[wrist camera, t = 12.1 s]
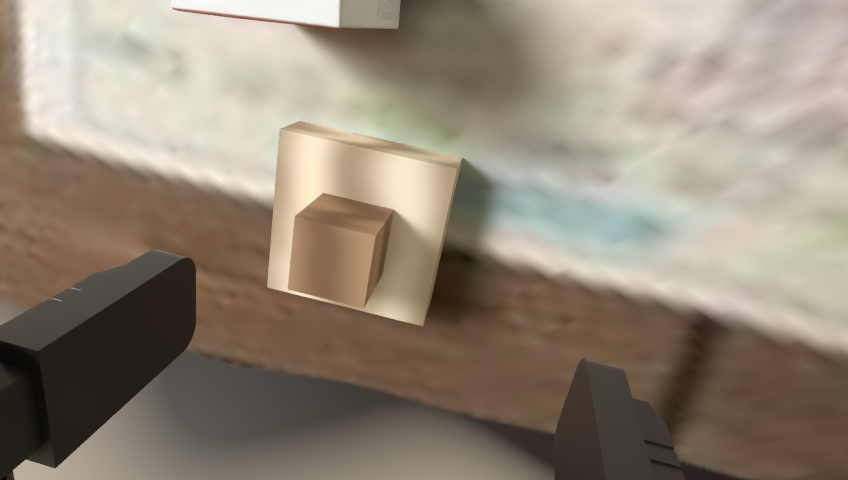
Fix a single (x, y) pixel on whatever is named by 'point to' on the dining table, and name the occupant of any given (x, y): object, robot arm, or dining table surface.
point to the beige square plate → (374, 184)
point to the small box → (302, 11)
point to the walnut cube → (339, 249)
